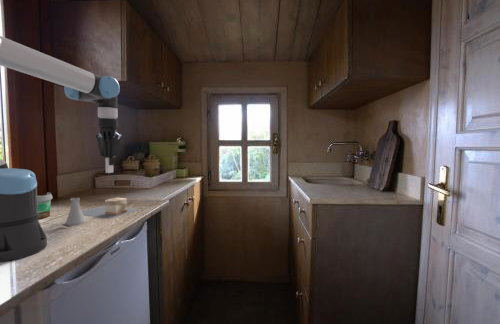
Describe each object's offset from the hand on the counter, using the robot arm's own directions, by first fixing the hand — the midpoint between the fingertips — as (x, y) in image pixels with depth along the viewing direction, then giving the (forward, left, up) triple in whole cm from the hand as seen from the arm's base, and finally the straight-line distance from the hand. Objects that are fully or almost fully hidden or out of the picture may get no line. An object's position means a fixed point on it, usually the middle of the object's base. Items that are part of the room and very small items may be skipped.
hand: (109, 172), depth 112 cm
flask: (-16, 0, -19) cm, 24 cm away
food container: (-17, +19, -19) cm, 31 cm away
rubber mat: (0, +3, -18) cm, 19 cm away
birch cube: (0, -3, -12) cm, 12 cm away
